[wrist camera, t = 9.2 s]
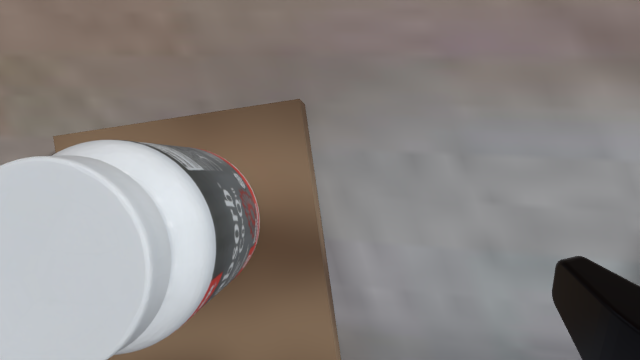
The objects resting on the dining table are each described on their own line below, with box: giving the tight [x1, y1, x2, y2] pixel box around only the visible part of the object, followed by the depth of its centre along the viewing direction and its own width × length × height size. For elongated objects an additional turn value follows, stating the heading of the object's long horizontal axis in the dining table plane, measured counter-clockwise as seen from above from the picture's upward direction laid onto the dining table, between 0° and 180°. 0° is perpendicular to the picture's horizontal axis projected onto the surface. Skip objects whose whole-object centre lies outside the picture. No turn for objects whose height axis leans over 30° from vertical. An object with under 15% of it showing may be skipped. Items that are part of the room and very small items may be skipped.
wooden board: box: [53, 99, 341, 360], centre depth 22 cm, size 12×10×2 cm
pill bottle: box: [0, 140, 260, 360], centre depth 16 cm, size 6×6×10 cm
